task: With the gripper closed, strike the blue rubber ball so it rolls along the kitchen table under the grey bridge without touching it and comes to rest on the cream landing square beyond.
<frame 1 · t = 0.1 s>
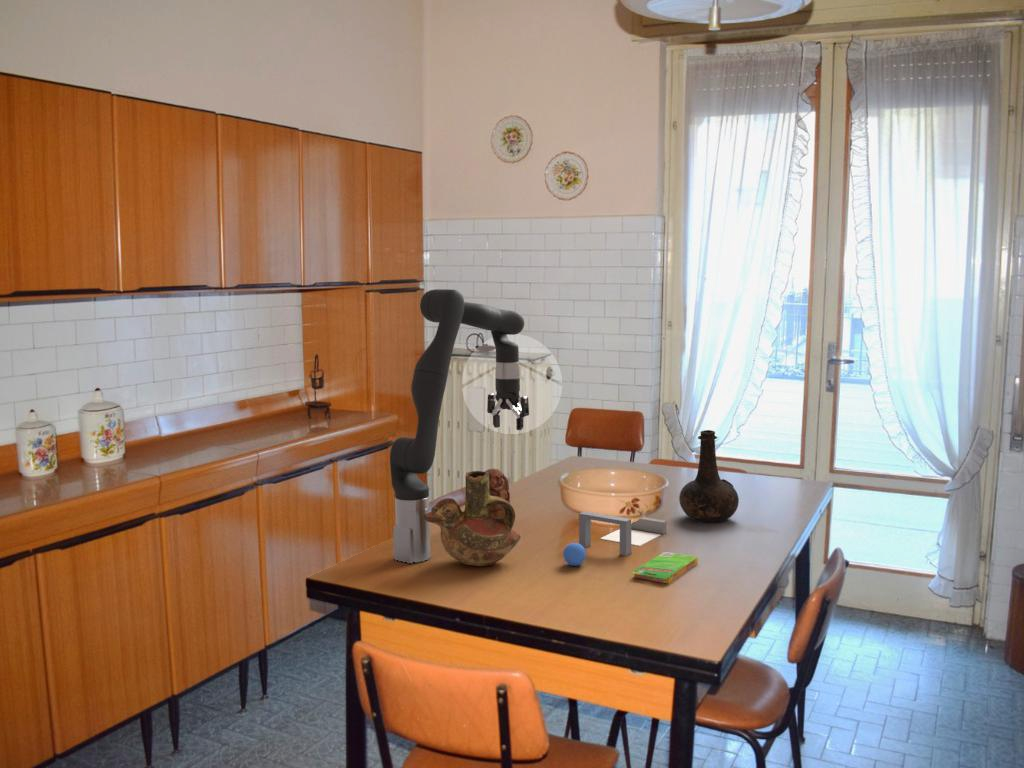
hand: (508, 428, 286), 29 cm above the table, tool pointing down, fingers open, 8 cm apart
game box: (665, 573, 240), on the table
glass bottle: (708, 520, 289), on the table
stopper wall: (645, 529, 278), on the table
ceramic vessel: (473, 564, 248), on the table
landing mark: (630, 537, 271), on the table
bridge: (604, 550, 259), on the table
wooden figurine: (494, 527, 284), on the table
ball: (574, 554, 245), on the table
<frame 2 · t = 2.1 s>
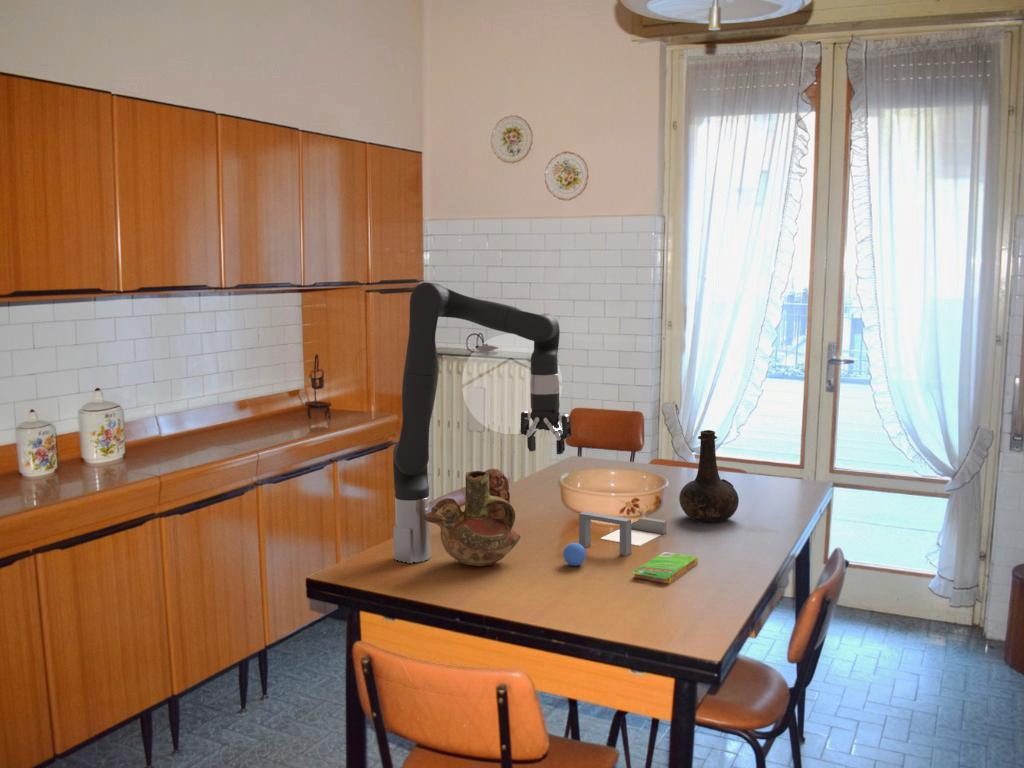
hand: (546, 452, 243), 30 cm above the table, tool pointing down, fingers open, 8 cm apart
nothing on the table moved.
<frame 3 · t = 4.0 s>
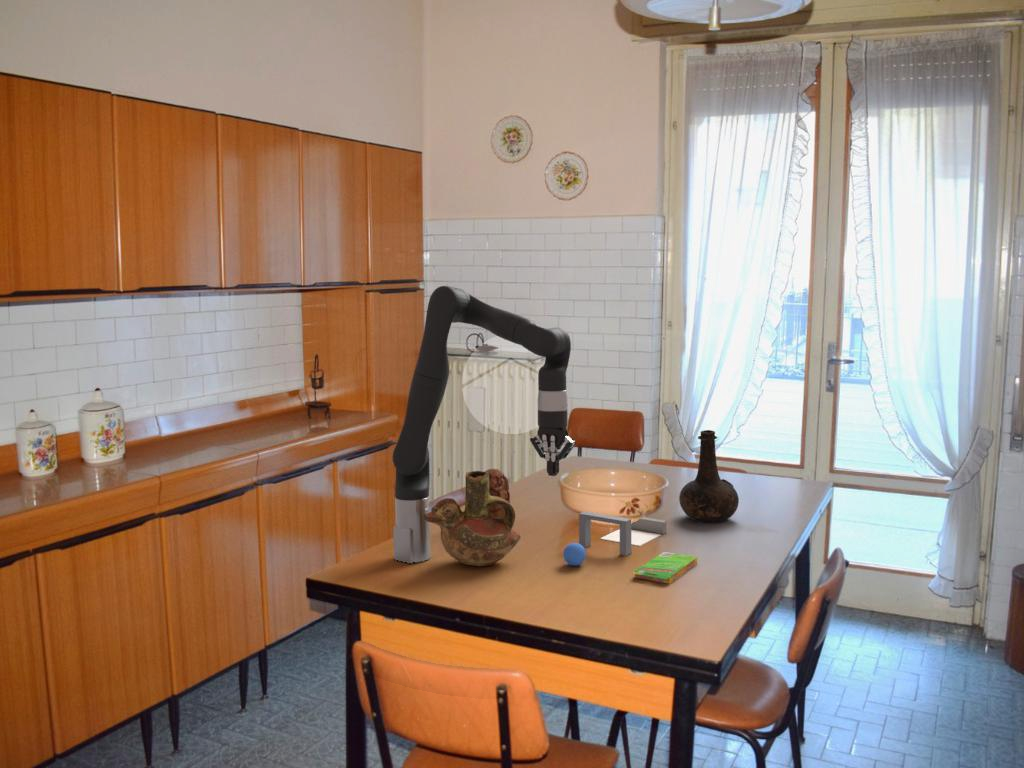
hand: (553, 475, 235), 26 cm above the table, tool pointing down, fingers closed
nothing on the table moved.
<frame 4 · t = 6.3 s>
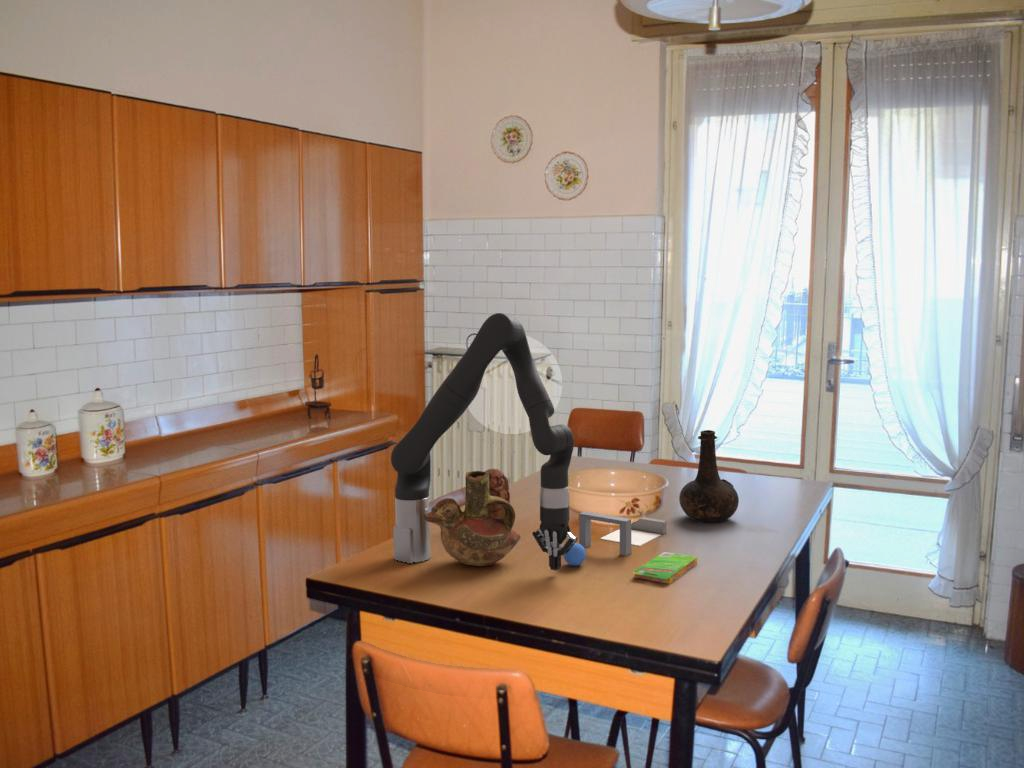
hand: (555, 569, 238), 2 cm above the table, tool pointing down, fingers closed
nothing on the table moved.
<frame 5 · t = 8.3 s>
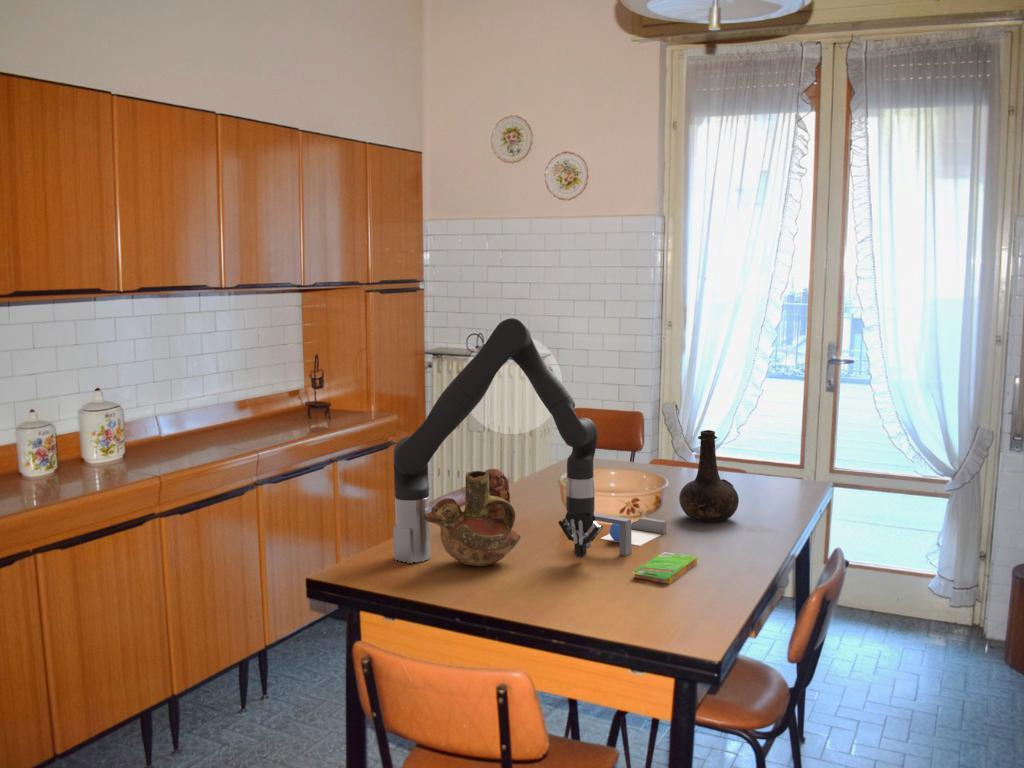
hand: (580, 556, 248), 2 cm above the table, tool pointing down, fingers closed
ball: (619, 531, 266), on the table
everything else where it was.
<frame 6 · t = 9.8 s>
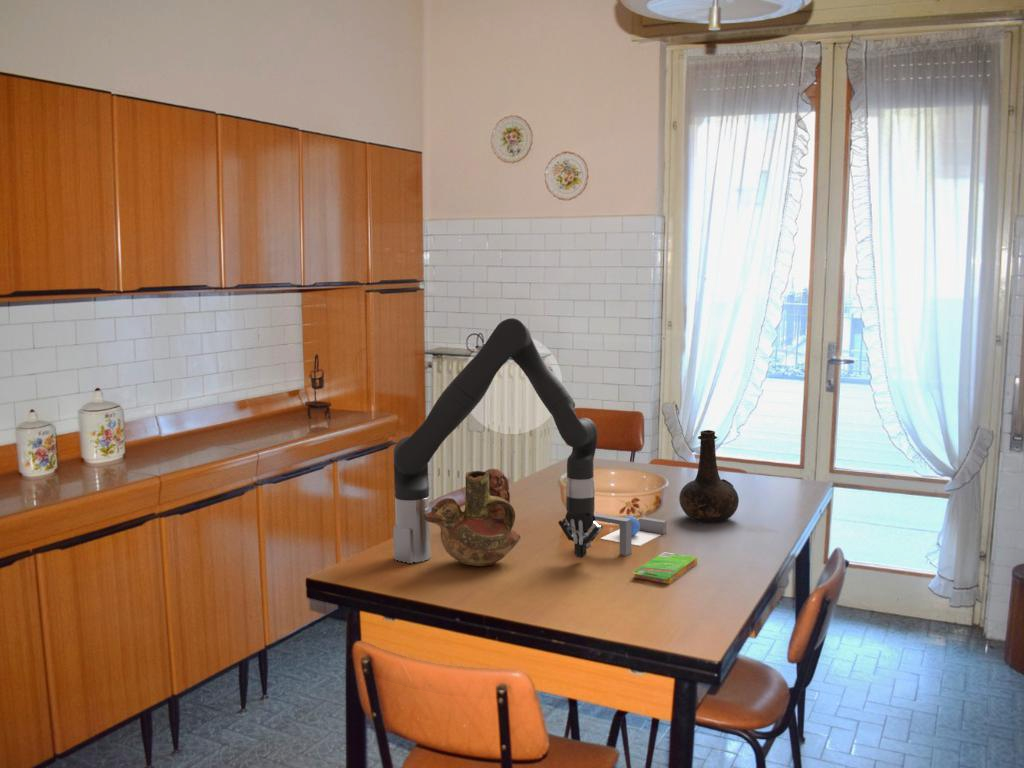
hand: (580, 556, 248), 2 cm above the table, tool pointing down, fingers closed
ball: (629, 526, 271), on the table
everything else where it was.
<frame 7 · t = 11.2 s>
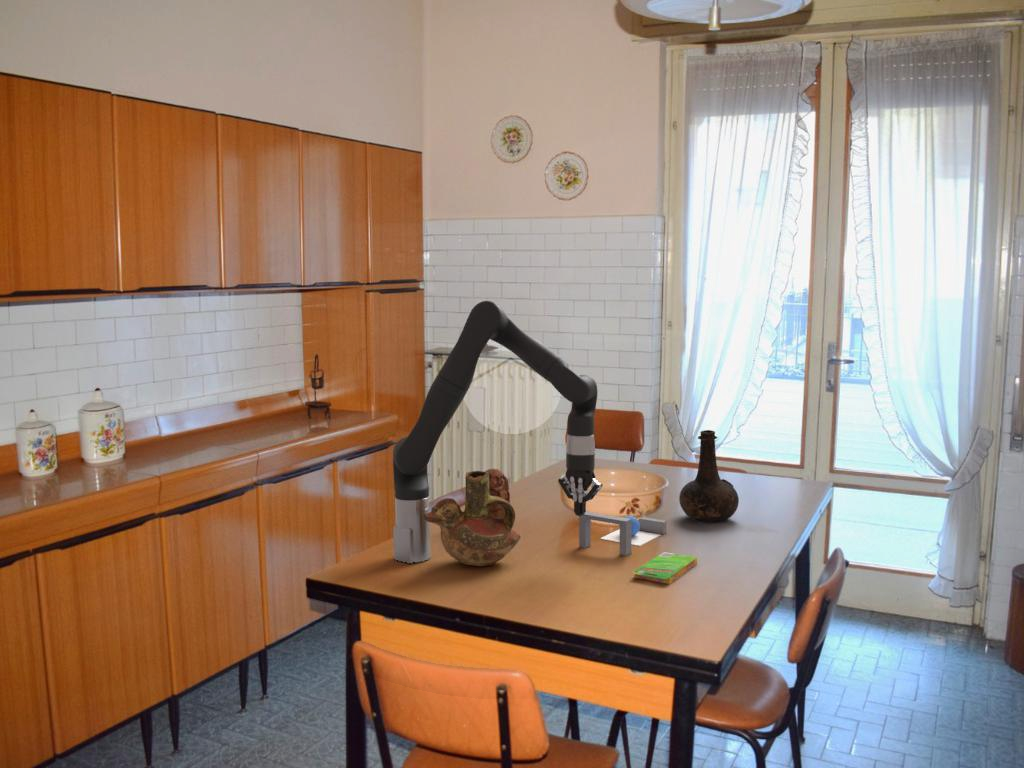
hand: (579, 515, 246), 13 cm above the table, tool pointing down, fingers closed
nothing on the table moved.
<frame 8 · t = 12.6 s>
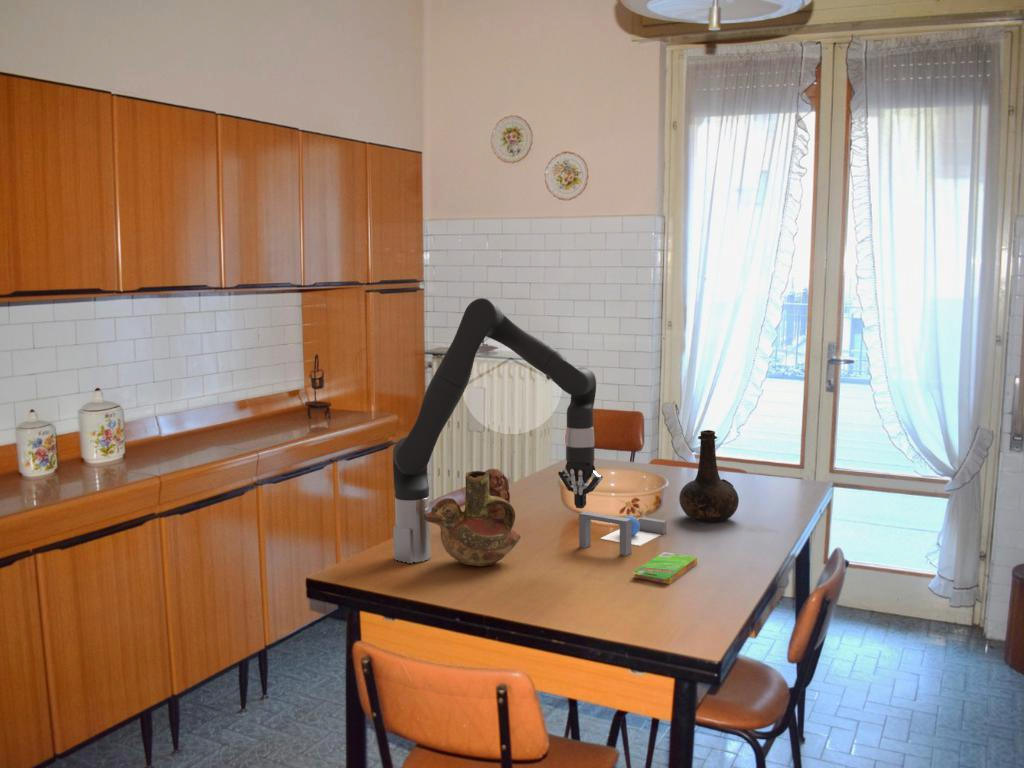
hand: (580, 507, 246), 15 cm above the table, tool pointing down, fingers closed
nothing on the table moved.
at the end: ball 1.0 cm from the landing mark (horizontally); ball never touched bridge; ball at rest at the end (0.0 cm/s) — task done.
